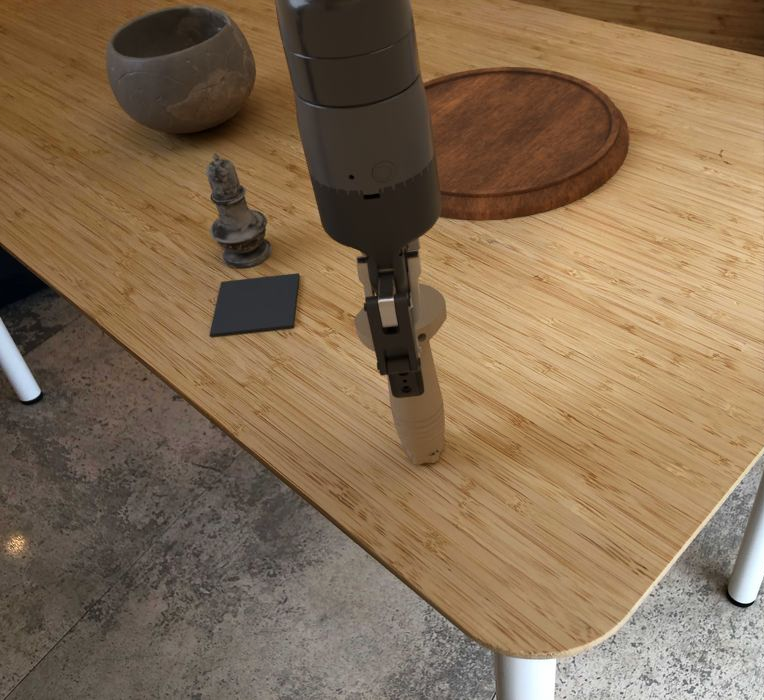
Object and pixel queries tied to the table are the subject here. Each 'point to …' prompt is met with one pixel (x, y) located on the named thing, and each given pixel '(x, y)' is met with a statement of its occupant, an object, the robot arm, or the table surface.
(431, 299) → the handle
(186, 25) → the bowl
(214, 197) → the grey stone chess piece
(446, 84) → the cutting board
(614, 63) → the table surface
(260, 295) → the place mat
